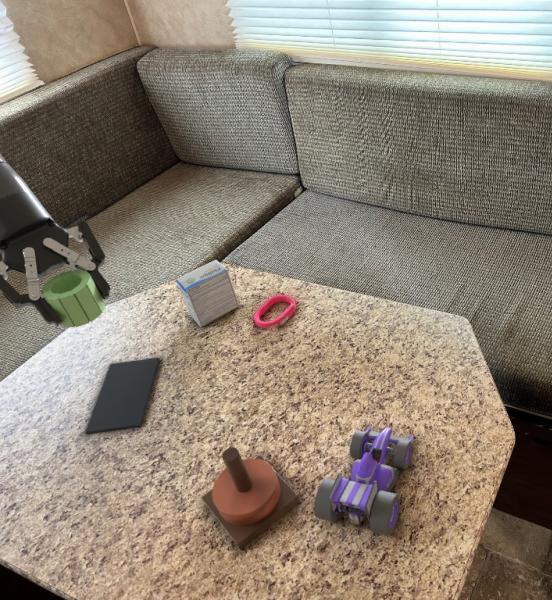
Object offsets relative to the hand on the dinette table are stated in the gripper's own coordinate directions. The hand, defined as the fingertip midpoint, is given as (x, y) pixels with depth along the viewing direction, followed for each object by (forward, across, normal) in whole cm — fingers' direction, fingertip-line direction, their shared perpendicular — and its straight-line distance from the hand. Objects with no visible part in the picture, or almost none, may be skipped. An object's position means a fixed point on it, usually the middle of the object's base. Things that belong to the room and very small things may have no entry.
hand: (83, 309), depth 81 cm
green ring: (0, 0, +2) cm, 2 cm away
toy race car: (+41, +13, -13) cm, 45 cm away
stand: (+33, +1, -6) cm, 34 cm away
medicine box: (+8, +20, +20) cm, 30 cm away
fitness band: (+15, +26, +13) cm, 33 cm away
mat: (+11, 0, +16) cm, 20 cm away
